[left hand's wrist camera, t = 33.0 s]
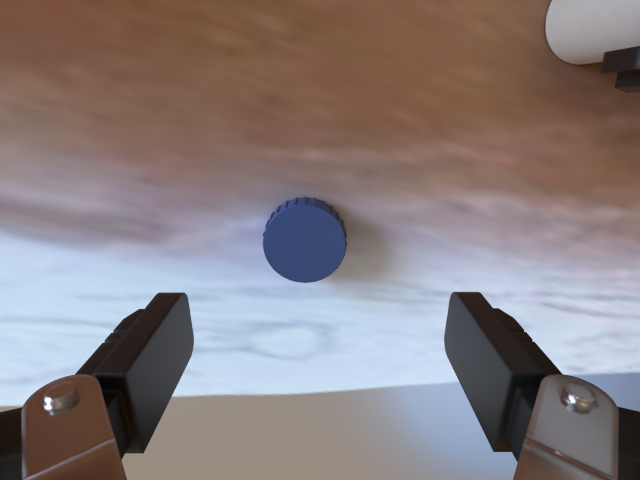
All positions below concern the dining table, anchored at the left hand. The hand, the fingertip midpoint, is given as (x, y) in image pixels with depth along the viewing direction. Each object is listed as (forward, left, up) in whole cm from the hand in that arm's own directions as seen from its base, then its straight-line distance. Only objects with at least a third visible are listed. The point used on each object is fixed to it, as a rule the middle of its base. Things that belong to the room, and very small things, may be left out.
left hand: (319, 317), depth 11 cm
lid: (+1, -1, -9) cm, 9 cm away
